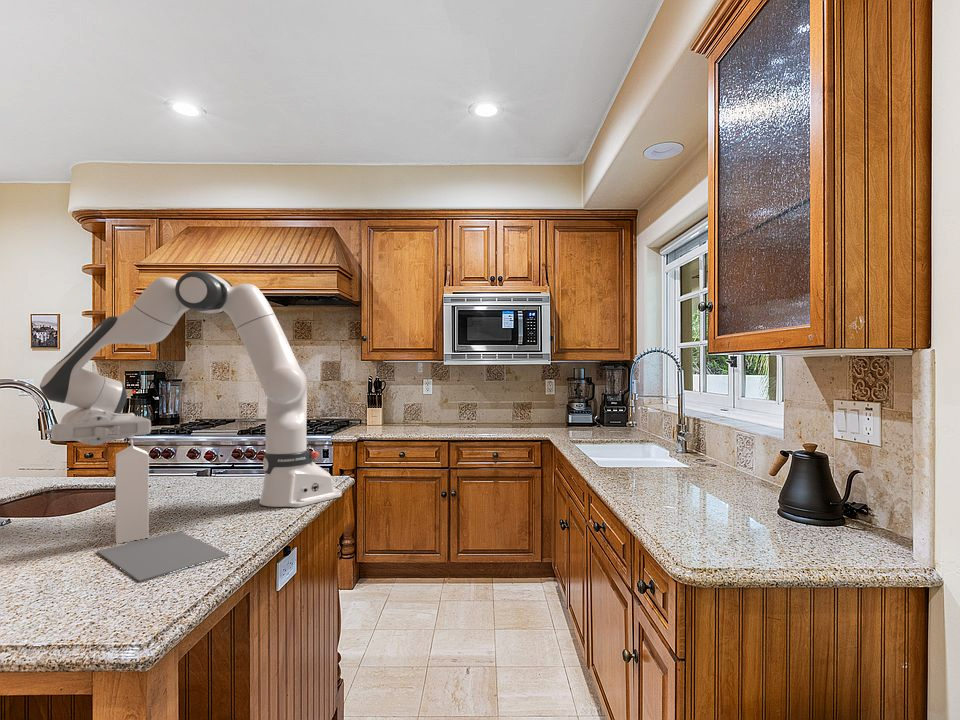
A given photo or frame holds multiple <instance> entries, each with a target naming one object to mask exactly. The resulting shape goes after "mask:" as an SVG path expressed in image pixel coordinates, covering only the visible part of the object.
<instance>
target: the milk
mask: <svg viewBox="0 0 960 720" xmlns="http://www.w3.org/2000/svg"><path fill="white" fill-rule="evenodd" d="M149 479H150V454H149V453H148V451H147V450H145V449H142V448H140V447H138V446H135V445H134V441H133V438H130V445H129V446H127V447H126V448H124V449H122V450H121V451H118V452H117V453H115V529H114V530H115V542H116V543H119V544H123V543H122V542H125V543H129V542H128V541H131V542H135V541H134V540H137V541H140V539H143V540H145V538H148V539H149V538H150V535H149V533H150V532H149V531H150V529H149V526H150V525H149V523H150V520H149V519H150V516H149V515H150V513H149V509H150V507H149V506H150V501H149V499H150V498H149V497H150V495H149V494H150V493H149V492H150V486H149V485H150V480H149Z"/></svg>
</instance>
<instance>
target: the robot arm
mask: <svg viewBox="0 0 960 720" xmlns="http://www.w3.org/2000/svg"><path fill="white" fill-rule="evenodd" d="M189 310H190V311H194V312H200V313H202V314H218V315H219V314H223V313H225V314H227V315H228V317H229V319H230V320H231V322H232V323H233V326H234V328H235V330H236V332H237V334H238V336H239V338H240V340H241V342H242V344H243V345H244V346H243V347H244V349H245V351H246V352H247V354H248V356H249V359H250V361H251V364H252V366H253V368H254V369H253V370H254V371H255V373H256V376H257V378H258V380H259V383H260V386H261V387H262V389H263V391H264V394H265V396H266V397H267V401H266V416H265V452H263V462H262V465H263V473H264V478H263V486H262V491H261V495H260V498H259V502H258V503H259V505H261V506H265V507H272V508H273V507H274V508H277V507H279V508H281V507H283V508H284V507H288V508H289V507H291V508H301V507H304V506H310V505H312V504H313V505H314V504H317V503H321V502H325V501H329V500H332V499H338V498H340V497H342V491H341V490H340V489H338V488H337V487H334V486H335V485H334V481H333V477H332V475H331V474H330V473H329V472H328V471H327V470H325V469H324V468H323V467H321V466H319V465H317V464H316V463H315V462H314V461H313V459H315V460H317V459H319V457H320V453H319V452H318V451H315V450H313V451H311V450H309V449H308V448H307V445H308V443H307V432H308V430H307V424H308V423H307V422H308V421H307V419H308V418H307V413H308V408H307V407H308V378H307V375H306V374H305V372H304V371H303V370H302V369H301V367H300V364H299V363H298V360H297V358H296V357H295V354H294V352H293V350H292V348H291V346H290V343H289V341H288V339H287V336H286V334H285V332H284V330H283V328H282V326H281V324H280V322H279V320H278V318H277V316H276V314H275V311H274V310H273V308H272V306H271V304H270V303H269V302H268V299H267V298H266V297H265V295H264V294H263V293H262V291H261V289H260V288H259V287H258V286H256V285H255V284H251V283H240V284H237V285H232V283H230V282H229V281H228V280H226V279H225V278H222V277H220V276H219V275H217V274H214V273H212V272H211V273H210V272H205V271H202V270H194V271H189V272H187V273H184V274H182V275H181V276H180V277H179V279H176V278H174V277H170V276H159V277H157V278H156V279H154V280H153V281H152V282H151V283H150V284H149V285H148V286H147V287H146V288H145V289H144V290H143V291H142V293H140V295H139V296H138V297H137V299H136V300H135V302H134V303H133V305H132V306H131V307H130V308H129V309H127V310H126V311H125V312H123V313H121V314H119V315H116V316H114V315H112V316H108V317H106V318H105V319H103V320H102V321H101V322H100V323H99V324H97V325H96V326H94V328H93V329H92V330H91V331H89V333H88V334H86V336H85V337H83V338H82V340H80V342H79V343H77V344H76V346H74V347H73V348H72V350H70V351H69V352H68V353H67V354H66V355H65V356H64V357H63V358H62V359H61V360H59V361H58V362H56V363H55V365H53V366H52V367H51V368H50V369H49V370H48V371H47V372H46V373H45V374H44V376H43V377H42V379H41V382H40V384H39V388H40V390H41V392H42V393H43V396H44V397H45V398H46V399H47V400H48V401H51V402H52V401H53V402H56V403H61V404H67V405H70V406H74V407H76V408H75V409H71V410H69V411H67V412H66V413H65V414H64V415H63V417H62V418H61V420H60V423H54V424H52V425H51V428H50V429H44V433H45V434H46V435H50V439H51V440H52V441H53V442H67V441H75V442H78V443H81V444H85V445H89V446H99V445H103V444H106V443H108V442H109V443H110V442H112V441H113V442H114V441H117V440H123V439H129V438H133V437H135V436H142V435H149V434H151V432H152V422H151V421H152V420H151V419H149V418H146V417H143V416H139V415H138V416H137V415H135V413H134V412H133V413H132V412H131V413H130V412H122V411H123V410H124V407H125V405H126V404H127V403H126V402H127V399H128V393H127V390H126V387H125V385H124V383H123V382H121V381H119V380H116V379H114V378H110V377H108V376H105V375H100V374H99V373H98V374H97V373H95V372H92V371H89V370H86V369H84V367H85V365H87V364H88V362H90V360H92V359H93V358H94V356H96V354H97V353H99V352H100V351H101V350H102V349H103V348H104V347H105V348H106V346H109V345H114V344H126V345H127V344H129V345H131V344H132V345H138V346H139V345H141V346H143V345H152V344H157V343H160V342H162V341H163V340H165V339H166V337H168V336H169V334H170V333H171V332H172V331H173V329H174V328H175V326H176V325H177V324H178V322H179V320H180V318H181V317H182V316H183V315H184V313H186V312H188V311H189Z"/></svg>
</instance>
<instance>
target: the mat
mask: <svg viewBox="0 0 960 720" xmlns="http://www.w3.org/2000/svg"><path fill="white" fill-rule="evenodd" d="M96 554H98V555H99V554H100V555H99V556H100V557H102V556H103V557H104V559H105V558H106V559H107V561H108V562H109V561H110V562H109V563H111V562H112V563H113V564H112V563H111V564H112V565H114V564H115V565H116V566H118V567H119V568H121V569H122V570H123V571H122V570H121V569H120V570H121V571H122V572H124V571H125V572H126V573H125V572H124V573H125V574H126V575H128V574H129V575H130V576H129V575H128V576H129V577H131V578H132V579H133V580H136V582H138V583H143V581H144V582H147V581H150V580H153V578H154V579H156V578H155V577H157V578H159V577H158V576H161V577H163V576H162V575H164V574H168V573H170V572H173V571H176V570H179V569H182V568H185V567H189V566H192V565H196V564H199V563H202V562H206V561H210V560H213V559H217V558H221V557H224V556H228V555H230V553H228V552H225V551H223V550H221V549H218V548H216V547H214V546H212V545H210V544H208V543H206V542H204V541H201V540H200V539H198V538H195V537H193V536H191V535H189V534H186V533H185V532H182V531H174V532H171V533H167V534H162V535H158V536H153V537H149V538H148V539H143V540H137V541H131V542H127V543H122V544H121V545H119V544H118V545H115V546H112V547H111V546H110V547H107V548H104V549H103V548H102V549H98V550H96ZM103 557H102V558H103ZM106 559H105V560H106ZM115 565H114V566H115ZM116 566H115V567H116ZM118 567H117V568H118ZM119 568H118V569H119ZM168 575H169V574H168ZM164 576H165V575H164ZM146 580H147V581H146Z"/></svg>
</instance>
